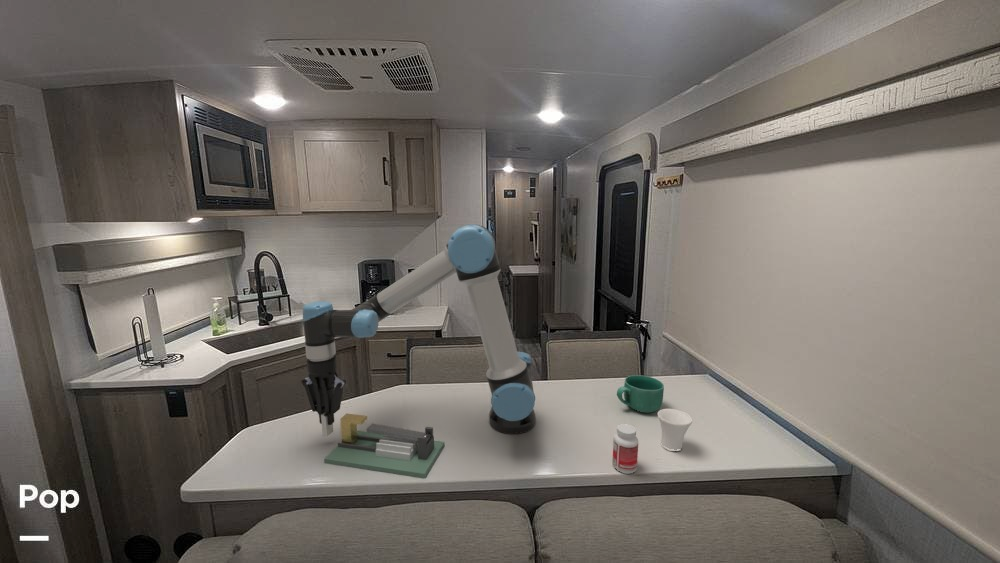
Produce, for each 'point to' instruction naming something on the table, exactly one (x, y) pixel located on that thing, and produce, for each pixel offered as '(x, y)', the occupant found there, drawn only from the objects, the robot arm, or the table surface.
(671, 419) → the cup
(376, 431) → the strap
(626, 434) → the pill bottle
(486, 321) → the robot arm
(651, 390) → the mug
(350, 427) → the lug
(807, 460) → the table surface
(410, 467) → the board
